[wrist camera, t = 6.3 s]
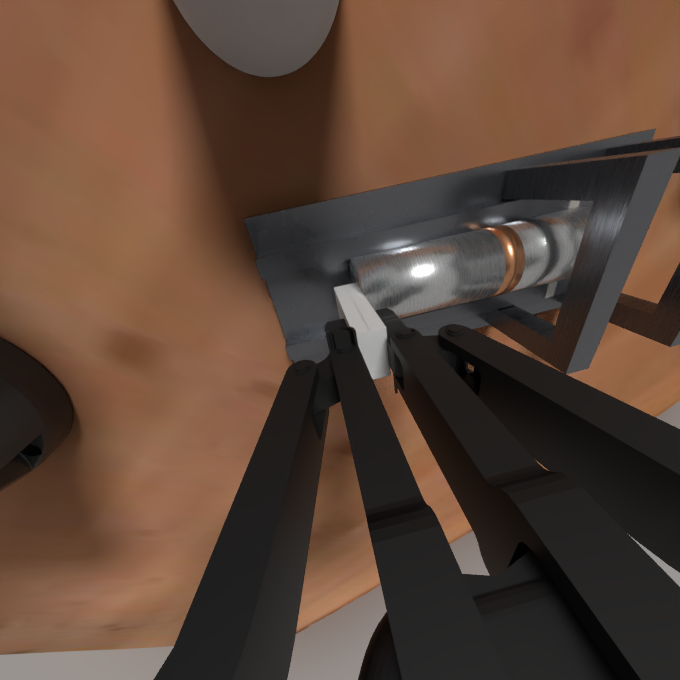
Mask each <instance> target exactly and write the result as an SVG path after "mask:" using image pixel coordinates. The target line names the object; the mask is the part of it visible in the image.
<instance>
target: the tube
mask: <svg viewBox="0 0 680 680" xmlns="http://www.w3.org/2000/svg"><path fill="white" fill-rule="evenodd" d="M590 211H591V208H589V207H577V208H572V209H568V210H564V211H559V212H555V213H550V214H546V215H541V216H537V217H532V218H528V219H524V220H519V221H515V222H510V223H506V224H501V225H497V226H493V227H488V228H484V229H479V230H475V231H470V232H466V233H461V234H457V235H453V236H448V237H444V238H439V239H435V240H430V241H426V242H422V243H417V244H413V245H408V246H404V247H399V248H395V249H390V250H386V251H382V252H377V253H373V254H368V255H364V256H359V257H355V258H351V259H350V264H349V268H350V279H351V283H355V284H356V285H357V287H358V288H359V289H360V291H361V292H362V294H363V295H364V296H365V297H366V299H367V300H368V302H369V303H370V305H371V306H372V307H373V309H374V310H379V309H383V308H388V309H390V310H393V311H394V313H395V314H396V315H397V316H398V317H399V319H400V318H404V317H408V316H412V315H416V314H421V313H425V312H429V311H433V310H437V309H441V308H446V307H450V306H454V305H458V304H462V303H467V302H471V301H475V300H479V299H483V298H487V297H492V296H496V295H500V294H504V293H508V292H512V291H517V290H521V289H525V288H529V287H533V286H538V285H542V284H546V283H550V282H554V281H558V280H563V279H567V278H570V276H571V273H572V269H573V266H574V263H575V260H576V256H577V253H578V250H579V247H580V243H581V240H582V237H583V234H584V230H585V227H586V224H587V220H588V217H589V214H590Z"/></svg>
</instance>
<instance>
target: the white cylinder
mask: <svg viewBox="0 0 680 680" xmlns="http://www.w3.org/2000/svg"><path fill="white" fill-rule="evenodd" d="M173 1H174V3H175V5H176V6H177V8H178V9H179V11H180V13H181V14H182V16H183V17H184V19H185V20H186V22H187V23H188V25H189V26H190V27H191V29H192V30H193V31H194V33H195V34H196V35H197V36H198V37H199V39H200V40H201V41H202V42H203V43H204V44H205V45H206V46H207V47H208V48H209V49H210V50H211V51H212V52H213V53H214V54H216V55H217V56H218V57H219V58H220V59H222V60H223V61H225V62H226V63H228V64H229V65H231V66H232V67H234V68H236V69H238V70H240V71H243V72H245V73H248V74H251V75H255V76H260V77H278V76H283V75H286V74H289V73H291V72H294V71H296V70H297V69H299V68H301V67H302V66H303V65H305V64H306V63H307V62H308V61H309V60H310V59H311V58H312V57H313V56H314V55H315V54H316V53H317V51H318V50H319V49H320V47H321V46H322V44H323V43H324V41H325V39H326V37H327V35H328V33H329V31H330V29H331V27H332V24H333V21H334V18H335V15H336V12H337V8H338V4H339V0H173Z"/></svg>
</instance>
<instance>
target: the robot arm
mask: <svg viewBox="0 0 680 680" xmlns="http://www.w3.org/2000/svg"><path fill="white" fill-rule="evenodd" d="M334 292H335V297H336V302H337V307H338V312H339V317H340V319H339V320H334V321H330V322H327V323H326V325H325V327H324V328H325V332H326V339H327V343H328V347H329V355H328V356H327V357H326V358H325V359H324V360H323V361H321V362H319V363H317V364H316V363H315V362H314V361H312V360H301V361H298V362H296V363H294V364H292V365H291V366H290V367H289V368H288V369H287V371H286V374H285V376H284V379H283V381H282V384H281V386H280V388H279V391H278V393H277V396H276V398H275V401H274V403H273V406H272V408H271V410H270V413H269V415H268V418H267V420H266V423H265V425H264V428H263V430H262V433H261V435H260V437H259V440H258V442H257V445H256V447H255V450H254V452H253V455H252V457H251V459H250V462H249V464H248V467H247V469H246V472H245V474H244V477H243V479H242V482H241V484H240V486H239V489H238V491H237V494H236V496H235V499H234V501H233V504H232V506H231V508H230V511H229V513H228V516H227V518H226V521H225V523H224V526H223V528H222V531H221V533H220V535H219V538H218V540H217V543H216V545H215V548H214V550H213V553H212V555H211V557H210V560H209V562H208V565H207V567H206V570H205V572H204V575H203V577H202V580H201V582H200V584H199V587H198V589H197V592H196V594H195V597H194V599H193V602H192V604H191V607H190V609H189V611H188V614H187V616H186V619H185V621H184V624H183V626H182V629H181V631H180V633H179V636H178V638H177V641H176V643H175V646H174V648H173V649H172V651H171V653H170V654H169V656H168V657H167V659H166V661H165V662H164V664H163V665H162V667H161V669H160V670H159V672H158V674H157V675H156V677H155V678H154V680H287V677H288V672H289V667H290V662H291V656H292V651H293V645H294V641H295V634H296V628H297V621H298V615H299V608H300V601H301V595H302V588H303V581H304V575H305V568H306V562H307V555H308V548H309V542H310V535H311V529H312V522H313V515H314V509H315V502H316V496H317V489H318V482H319V476H320V469H321V462H322V456H323V449H324V443H325V436H326V429H327V423H328V416H329V407H331V406H332V405H334V404H336V403H338V402H340V401H341V405H342V410H343V414H344V419H345V423H346V428H347V432H348V437H349V441H350V445H351V450H352V454H353V459H354V463H355V468H356V472H357V477H358V481H359V486H360V490H361V495H362V499H363V504H364V508H365V513H366V517H367V522H368V528H369V532H370V537H371V541H372V546H373V550H374V555H375V559H376V564H377V568H378V573H379V577H380V582H381V586H382V591H383V595H384V600H385V604H386V609H387V612H386V614H385V615H384V617H383V618H382V619H381V621H380V622H379V624H378V626H377V627H376V629H375V631H374V633H373V635H372V637H371V640H370V642H369V645H368V647H367V650H366V653H365V656H364V659H363V663H362V666H361V671H360V674H359V678H358V680H680V587H679V586H678V585H677V584H676V583H675V582H674V581H673V580H672V579H671V578H670V577H669V576H668V575H667V574H666V573H665V572H664V570H663V569H662V568H661V567H660V566H658V565H657V563H656V562H655V561H654V560H653V559H652V558H651V557H650V556H649V555H648V554H647V553H646V552H645V551H644V550H643V549H642V548H641V547H640V546H639V545H638V544H637V543H636V542H635V541H634V540H633V539H632V538H631V537H633V538H634V539H635V540H636V541H638V542H639V543H640V544H642V545H643V546H644V547H646V548H647V549H648V550H650V551H651V552H652V553H653V554H655V555H656V556H658V557H659V558H660V559H661V560H663V561H664V562H665V563H667V564H668V565H669V566H671V567H672V568H674V569H675V570H677V571H678V572H680V429H678V428H676V427H674V426H672V425H670V424H668V423H666V422H664V421H662V420H659V419H657V418H655V417H653V416H651V415H649V414H647V413H645V412H643V411H641V410H639V409H637V408H635V407H632V406H630V405H628V404H626V403H624V402H622V401H620V400H618V399H616V398H614V397H612V396H610V395H607V394H605V393H603V392H601V391H599V390H597V389H595V388H593V387H591V386H589V385H587V384H585V383H583V382H580V381H578V380H576V379H574V378H572V377H570V376H568V375H566V374H564V373H562V372H560V371H558V370H556V369H553V368H551V367H549V366H547V365H545V364H543V363H541V362H539V361H537V360H535V359H533V358H531V357H528V356H526V355H524V354H522V353H520V352H518V351H516V350H514V349H512V348H510V347H508V346H506V345H504V344H501V343H499V342H497V341H495V340H493V339H491V338H489V337H487V336H485V335H483V334H481V333H479V332H476V331H474V330H472V329H470V328H468V327H466V326H463V325H458V324H449V325H445V326H443V327H441V328H440V329H439V331H438V335H431V336H423V335H422V334H421V333H420V332H419V331H418V330H416V329H414V328H409V327H406V326H405V324H404V323H403V322H402V321H401V320H400V319H399V317H398V316H397V315H396V314H395V313H394V311H393V310H390V309H388V308H383V309H379V310H374V309H373V307H372V306H371V305H370V303H369V302H368V300H367V299H366V297H365V296H364V295H363V294H362V292H361V291H360V289H359V288H358V287H357V285H356V284H355V283H351V284H347V285H342V286H338V287H334ZM468 363H469V364H471V365H472V366H474V371H471V370H469V369H468ZM390 368H391V369H392V371H393V376H394V388H395V394H396V393H398V391H397V389H399V391H400V393H401V395H402V397H403V399H404V401H405V403H406V405H407V406H408V408H409V410H410V412H411V414H412V416H413V418H414V420H415V422H416V423H417V425H418V427H419V429H420V431H421V433H422V435H423V437H424V439H425V440H426V442H427V444H428V446H429V448H430V450H431V452H432V454H433V456H434V457H435V459H436V461H437V463H438V465H439V467H440V469H441V471H442V473H443V474H444V476H445V478H446V480H447V482H448V484H449V486H450V488H451V490H452V491H453V493H454V495H455V497H456V499H457V501H458V503H459V505H460V507H461V508H462V510H463V512H464V514H465V516H466V518H467V520H468V522H469V524H470V525H471V527H472V529H473V531H474V533H475V535H476V538H477V541H478V543H479V548H480V552H481V555H482V558H483V561H484V563H485V566H486V568H487V570H488V572H489V574H490V576H484V575H470V574H462V573H461V570H460V568H459V566H458V563H457V561H456V559H455V557H454V554H453V552H452V550H451V548H450V545H449V543H448V541H447V539H446V536H445V534H444V532H443V530H442V527H441V525H440V523H439V521H438V519H437V517H436V515H435V513H434V511H433V510H432V508H431V507H430V506H428V505H427V504H426V503H425V501H424V499H423V497H422V495H421V493H420V490H419V488H418V486H417V483H416V481H415V478H414V476H413V474H412V471H411V469H410V467H409V464H408V462H407V460H406V457H405V455H404V453H403V450H402V448H401V445H400V443H399V441H398V438H397V436H396V434H395V431H394V429H393V427H392V424H391V422H390V419H389V417H388V415H387V412H386V410H385V408H384V405H383V403H382V401H381V398H380V396H379V394H378V391H377V389H376V386H375V384H374V382H373V379H377V378H381V377H385V376H389V375H391V373H390ZM72 421H73V414H72V408H71V405H70V402H69V399H68V397H67V395H66V394H65V392H64V390H63V389H62V387H61V386H60V385H59V383H58V382H57V381H56V380H55V379H54V377H53V376H52V375H51V374H50V373H49V372H48V371H47V370H46V369H44V368H43V367H42V366H41V365H40V364H39V363H37V362H36V361H35V360H34V359H32V358H31V357H30V356H28V355H27V354H25V353H24V352H23V351H21V350H20V349H18V348H16V347H15V346H13V345H11V344H10V343H8V342H6V341H4V340H3V339H1V338H0V491H1V490H3V489H4V488H6V487H8V486H9V485H11V484H12V483H14V482H15V481H17V480H18V479H20V478H22V477H23V476H25V475H26V474H28V473H29V472H31V471H32V470H34V469H35V468H36V467H38V466H39V465H40V464H41V463H42V462H43V461H44V460H46V459H47V457H48V456H49V455H50V454H51V453H52V452H53V451H54V450H55V449H56V448H57V447H58V446H59V445H60V444H61V443H62V441H63V440H64V439H65V438H66V437H67V435H68V434H69V432H70V429H71V426H72ZM536 460H537V461H538V462H539V463H540V464H542V465H543V466H544V467H545V468H547V469H548V470H549V471H548V470H546V469H544V468H543V467H542V466H541V465H539V464H538V463H537V461H536ZM627 533H628V534H629V535H630V536H631V537H630V536H629V535H628V534H627Z"/></svg>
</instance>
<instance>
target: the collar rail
mask: <svg viewBox="0 0 680 680" xmlns="http://www.w3.org/2000/svg"><path fill="white" fill-rule="evenodd" d="M655 130H656V129H651V130H646V131H640V132H635V133H631V134H626V135H622V136H617V137H613V138H608V139H603V140H599V141H594V142H590V143H585V144H581V145H576V146H571V147H567V148H562V149H558V150H553V151H549V152H544V153H540V154H535V155H530V156H526V157H521V158H517V159H512V160H508V161H503V162H499V163H494V164H489V165H485V166H480V167H476V168H471V169H467V170H462V171H457V172H453V173H448V174H444V175H439V176H435V177H430V178H426V179H421V180H416V181H412V182H407V183H403V184H398V185H394V186H389V187H385V188H380V189H375V190H371V191H366V192H362V193H357V194H353V195H348V196H343V197H339V198H334V199H330V200H325V201H321V202H316V203H312V204H307V205H302V206H298V207H293V208H289V209H284V210H280V211H275V212H271V213H266V214H261V215H257V216H252V217H248V218H245V219H244V221H245V224H246V227H247V230H248V233H249V235H250V238H251V241H252V244H253V247H254V250H255V253H256V255H257V257H256V258H255V260H254V261H255V264H256V266H257V269H258V272H259V275H260V278H261V279H265V281H266V284H267V287H268V290H269V292H270V295H271V298H272V301H273V304H274V307H275V310H276V312H277V315H278V318H279V321H280V324H281V327H282V330H283V332H284V335H285V338H286V350H287V353H288V356H289V358H290V360H293V361H294V363H296V362H298V361H301V360H312V361H314V362H315V363H316V364H317V363H319V362H321V361H323V360H324V359H325V358H326V357H327V356H328V355H329V347H328V343H327V339H326V332H325V328H324V327H325V325H326V323H327V322H330V321H334V320H339V319H340V317H339V312H338V307H337V302H336V297H335V292H334V287H338V286H342V285H347V284H351V279H350V268H349V264H350V259H351V258H355V257H359V256H364V255H368V254H373V253H377V252H382V251H386V250H390V249H395V248H399V247H404V246H408V245H413V244H417V243H422V242H426V241H430V240H435V239H439V238H444V237H448V236H453V235H457V234H461V233H466V232H470V231H475V230H479V229H484V228H488V227H493V226H497V225H501V224H506V223H510V222H515V221H519V220H524V219H528V218H532V217H537V216H541V215H546V214H550V213H555V212H559V211H564V210H568V209H572V208H577V207H589V208H591V211H590V214H589V217H588V220H587V224H586V227H585V230H584V234H583V237H582V240H581V243H580V247H579V250H578V253H577V256H576V260H575V263H574V266H573V269H572V273H571V276H570V278H567V279H563V280H558V281H554V282H550V283H546V284H542V285H538V286H533V287H529V288H525V289H521V290H517V291H512V292H508V293H504V294H500V295H496V296H492V297H487V298H483V299H479V300H475V301H471V302H467V303H462V304H458V305H454V306H450V307H446V308H441V309H437V310H433V311H429V312H425V313H421V314H416V315H412V316H408V317H404V318H400V320H401V321H402V322H403V323H404V324H405V326H406V327H409V328H414V329H416V330H418V331H419V332H420V333H421V334H422V335H423V336H431V335H438V331H439V329H440V328H441V327H443V326H445V325H449V324H458V325H463V326H466V327H468V328H470V329H476V328H480V327H484V326H488V325H492V326H493V327H495V328H496V329H498V330H499V331H501V332H502V333H504V334H505V335H507V336H508V337H510V338H511V339H513V340H514V341H516V342H517V343H519V344H520V345H522V346H523V347H525V348H526V349H528V350H529V351H531V352H533V353H534V354H536V355H537V356H539V357H540V358H542V359H543V360H545V361H546V362H548V363H549V364H551V365H552V366H554V367H555V368H557V369H558V370H560V371H561V372H563V373H564V374H569V373H573V372H577V371H580V370H584V369H588V368H589V366H590V364H591V361H592V359H593V357H594V354H595V352H596V350H597V347H598V345H599V343H600V340H601V338H602V336H603V333H604V331H605V329H606V326H607V324H608V322H610V323H612V324H615V325H617V326H620V327H622V328H625V329H627V330H629V331H632V332H634V333H637V334H639V335H642V336H644V337H647V338H649V339H652V340H654V341H657V342H659V343H662V344H664V345H667V346H669V347H672V346H675V345H679V344H680V263H679V265H678V267H677V269H676V271H675V272H674V274H673V276H672V278H671V280H670V282H669V284H668V286H667V288H666V290H665V292H664V293H663V295H662V297H661V299H660V301H659V303H658V304H656V303H653V302H649V301H646V300H643V299H639V298H636V297H633V296H629V295H626V294H623V293H621V291H622V289H623V287H624V284H625V282H626V280H627V277H628V275H629V273H630V270H631V268H632V266H633V263H634V261H635V259H636V256H637V254H638V252H639V250H640V247H641V245H642V243H643V240H644V238H645V236H646V233H647V231H648V229H649V226H650V224H651V222H652V219H653V217H654V215H655V212H656V210H657V208H658V205H659V203H660V201H661V198H662V196H663V194H664V191H665V189H666V187H667V184H668V182H669V180H670V177H671V175H672V173H680V136H676V137H669V138H663V139H656V140H652V138H653V136H654V133H655ZM560 307H561V309H560V312H559V315H558V318H557V322H556V325H553V324H551V323H549V322H547V321H545V320H543V319H541V318H539V317H537V316H535V315H533V314H536V313H540V312H544V311H548V310H552V309H556V308H560Z"/></svg>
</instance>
